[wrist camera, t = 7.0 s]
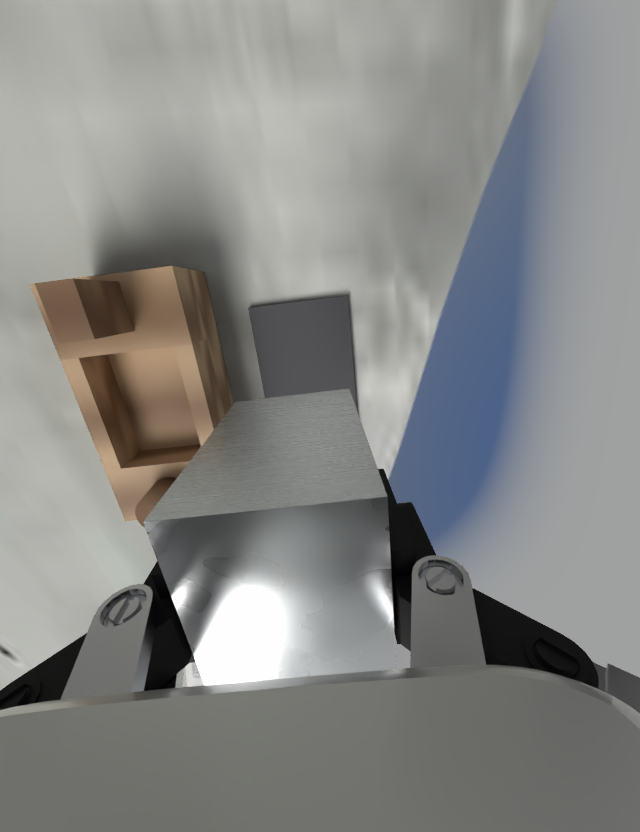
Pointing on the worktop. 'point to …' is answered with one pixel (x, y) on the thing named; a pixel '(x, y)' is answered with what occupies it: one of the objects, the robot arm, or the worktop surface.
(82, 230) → the worktop surface
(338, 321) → the rubber mat
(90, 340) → the body
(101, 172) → the worktop surface
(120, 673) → the robot arm
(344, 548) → the silver block
